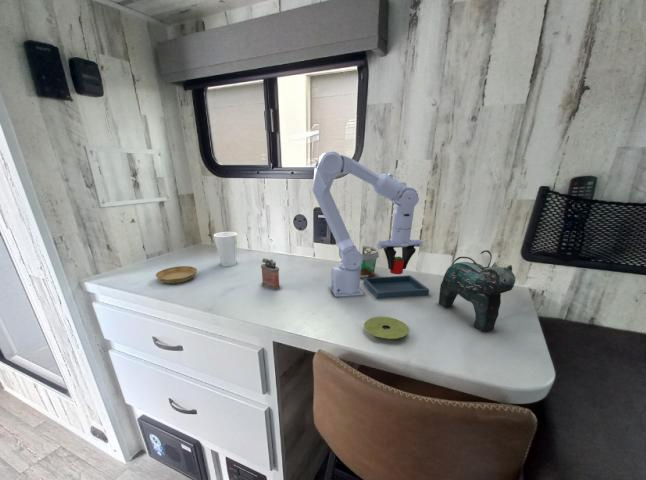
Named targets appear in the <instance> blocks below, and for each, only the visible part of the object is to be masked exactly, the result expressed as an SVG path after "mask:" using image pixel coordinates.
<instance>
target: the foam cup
mask: <svg viewBox="0 0 646 480" xmlns="http://www.w3.org/2000/svg"><path fill="white" fill-rule="evenodd" d="M213 240H214V243H215V246H216V250H217V253H218V258H219V261H220V264H221V266H222V267H233V266H236V265H237V252H238V251H237V249H238V234H237V232H235V231H221V232H216V233H213Z"/></svg>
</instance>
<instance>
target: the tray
mask: <svg viewBox="0 0 646 480" xmlns="http://www.w3.org/2000/svg"><path fill="white" fill-rule="evenodd" d="M363 285H364V286H365V287H366V288H367V289H368V290H369V292H370V293H371V294H372V295H373V296H374V298H375V299H376V300H382V299H394V298H395V299H396V298H410V297H424V296H429V293H430V289H429V288H428V287H426V286H425V285H424V284H422V283H421V282H420V281H419V280H418V279H416V278H415V277H413V276H412V275H411V274H410V275H409V274H408V275H394V276H377V277H371V278H364V279H363Z"/></svg>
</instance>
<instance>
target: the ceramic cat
mask: <svg viewBox="0 0 646 480" xmlns="http://www.w3.org/2000/svg"><path fill="white" fill-rule="evenodd" d="M484 253H488V255H489V256H490V259H489V263H488V264H487V266H483V265H481V264H479V263H477V262H476V260H475V259H473V258H471V257H469V256H458V257H456V258H455V259H454V261H452V263H451V265H450V266H449V267H448V268H447V269H446V271H445V273H444V275H443V278H442V281H441V283H440V287H439V294H438V295H439V297H438V305H439V306H441V307H442V308H444V309H449V308H452V307H453V305H454V303H455V301H456V298H457V296H460V297H461V298H462V299H464V300H465V301H467V302H470V303H471V304H472V306H473V310H474V313H475V318H474V323H473V327H474V328H475V329H478V330H479V331H480V332H482V333H484V332H490V331H494V329H495V325H496V322H497V319H498V317H499V314H500V313H499V312H500V307H501V304H502V299H501V296H502V295H501V294H503V293H507V292H511V291H512V290H513V288H514V287H515V284H516V276H515V274H514V272H513V265H512V264H510V265H508V266H506V267H503V266H498V264H497V262H494V263H493V264H492V265H491V263H492V256H493V255H492V253H491V251H490V250H488V249H486V250H485V249H484V250H483V251H481V252H480V255H482V254H484ZM460 259H468V260H470V261H471V262H470V261H461V262H460V261H459V260H460ZM457 261H459V262H457ZM490 265H491V266H490Z"/></svg>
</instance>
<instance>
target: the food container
mask: <svg viewBox="0 0 646 480" xmlns="http://www.w3.org/2000/svg"><path fill="white" fill-rule="evenodd" d="M361 254H362V256H363V262H362V265H361V274H360V280H364V278H374V276H375V271H376V270H375V269H376V265H377V259H378V258H379V254H380V253H379V249H378V248H376V247H372V246H366V245H363V246H362V252H361Z"/></svg>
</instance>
